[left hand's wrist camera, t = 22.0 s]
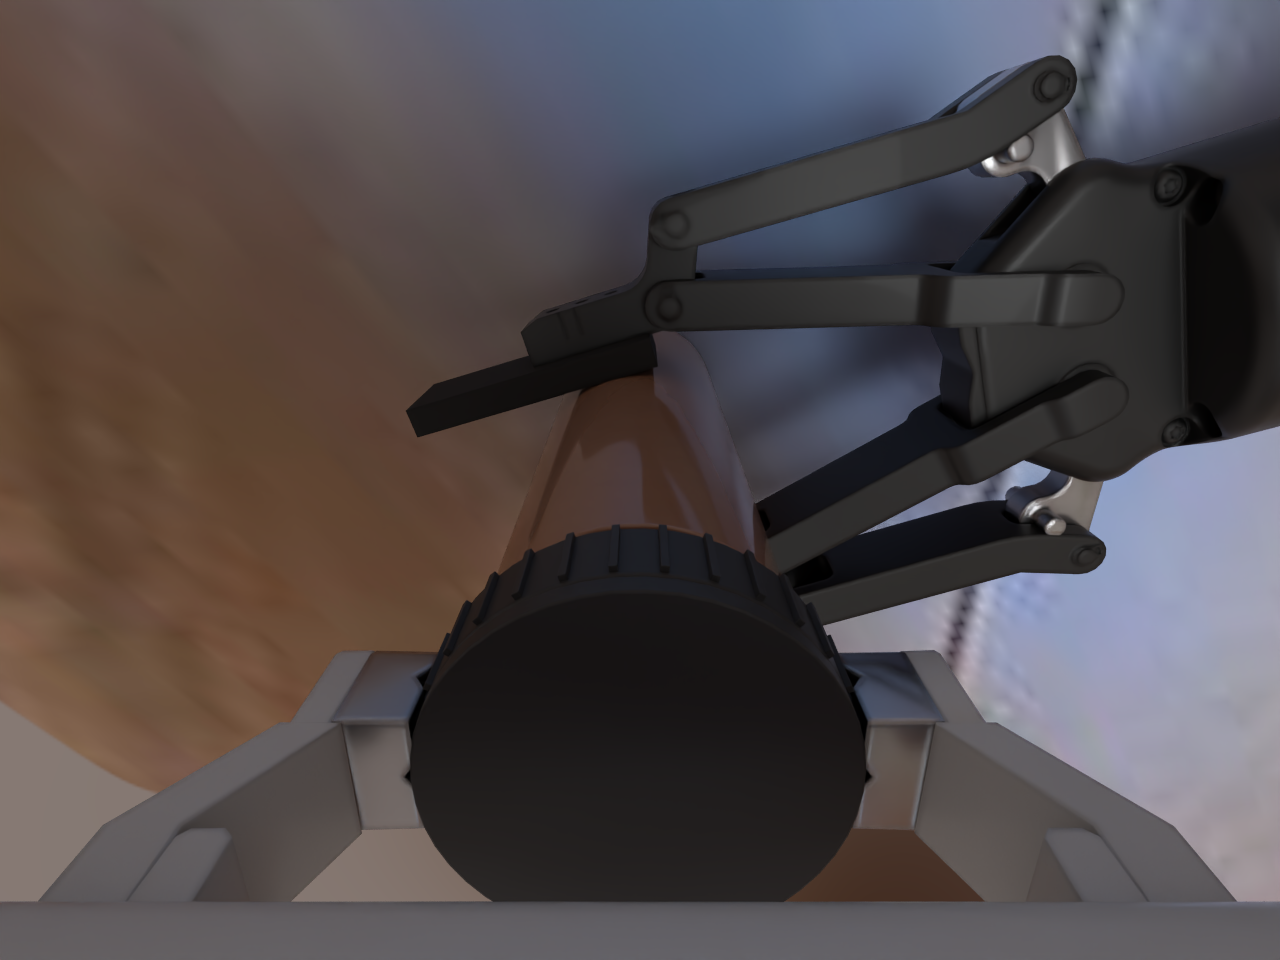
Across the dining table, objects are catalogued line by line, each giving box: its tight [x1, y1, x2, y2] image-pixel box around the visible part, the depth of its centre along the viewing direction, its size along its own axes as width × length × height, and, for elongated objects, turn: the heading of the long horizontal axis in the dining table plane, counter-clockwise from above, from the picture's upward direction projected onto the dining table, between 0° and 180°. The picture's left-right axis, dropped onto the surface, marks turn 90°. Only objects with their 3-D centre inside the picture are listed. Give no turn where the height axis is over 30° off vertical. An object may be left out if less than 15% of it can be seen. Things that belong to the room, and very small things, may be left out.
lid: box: [410, 524, 866, 902], centre depth 10 cm, size 6×6×2 cm
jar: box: [497, 331, 781, 577], centre depth 18 cm, size 5×5×18 cm
